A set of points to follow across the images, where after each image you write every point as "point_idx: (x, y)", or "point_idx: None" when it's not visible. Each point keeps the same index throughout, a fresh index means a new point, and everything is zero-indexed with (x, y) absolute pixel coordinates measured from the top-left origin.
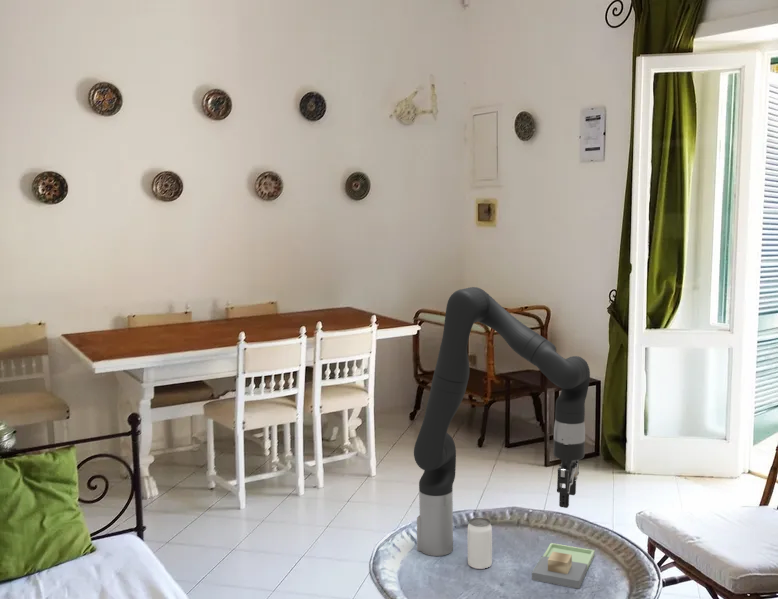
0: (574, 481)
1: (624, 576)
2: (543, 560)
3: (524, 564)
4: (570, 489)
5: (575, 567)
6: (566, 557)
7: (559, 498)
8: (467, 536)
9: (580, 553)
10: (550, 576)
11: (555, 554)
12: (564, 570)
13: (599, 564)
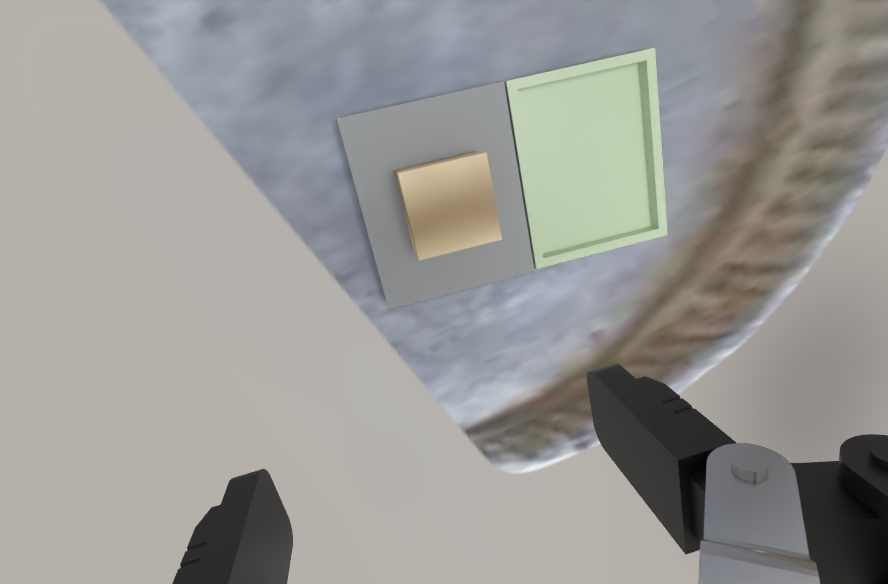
0: (683, 543)
1: (555, 376)
2: (468, 108)
3: (443, 21)
4: (617, 432)
5: (483, 249)
6: (466, 232)
7: (207, 542)
8: None
9: (638, 187)
10: (359, 200)
11: (466, 177)
12: (412, 241)
13: (597, 275)
